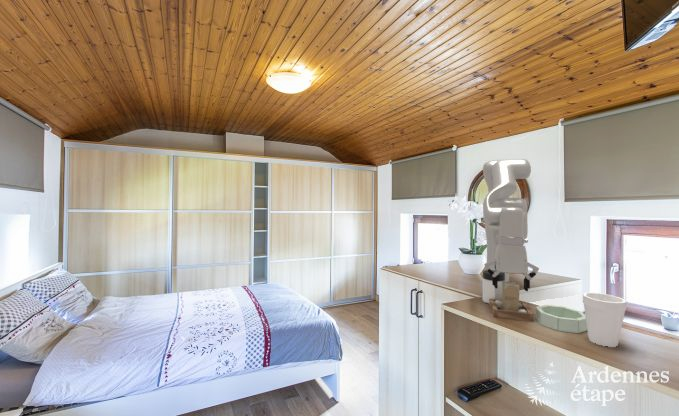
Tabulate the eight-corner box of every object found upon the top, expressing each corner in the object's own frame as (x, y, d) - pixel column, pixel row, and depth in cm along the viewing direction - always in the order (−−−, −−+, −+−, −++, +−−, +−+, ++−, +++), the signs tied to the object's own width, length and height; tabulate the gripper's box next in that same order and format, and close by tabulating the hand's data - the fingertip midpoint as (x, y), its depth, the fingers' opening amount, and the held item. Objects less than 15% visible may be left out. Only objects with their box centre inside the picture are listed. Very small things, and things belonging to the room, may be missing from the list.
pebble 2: (512, 308, 114) (512, 300, 114) (521, 309, 113) (521, 301, 113) (514, 311, 112) (514, 303, 111) (523, 312, 111) (523, 304, 110)
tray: (489, 305, 118) (489, 298, 118) (524, 308, 114) (524, 302, 114) (494, 317, 106) (494, 310, 106) (533, 321, 102) (533, 314, 102)
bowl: (532, 314, 108) (533, 303, 108) (576, 319, 104) (576, 307, 104) (543, 328, 96) (543, 316, 96) (593, 335, 92) (593, 322, 92)
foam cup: (629, 353, 81) (630, 305, 81) (585, 344, 86) (586, 299, 85) (619, 339, 89) (621, 295, 89) (580, 332, 94) (581, 290, 94)
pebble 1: (493, 306, 117) (493, 298, 116) (501, 307, 116) (502, 299, 115) (494, 308, 114) (494, 301, 114) (503, 310, 113) (503, 302, 113)
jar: (509, 302, 121) (509, 272, 121) (500, 306, 116) (500, 275, 116) (486, 296, 128) (487, 268, 128) (477, 300, 123) (477, 271, 123)
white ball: (516, 315, 107) (516, 307, 107) (526, 316, 106) (526, 308, 106) (518, 318, 104) (518, 310, 104) (528, 319, 103) (528, 311, 103)
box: (502, 313, 109) (503, 283, 109) (500, 309, 113) (501, 280, 113) (519, 315, 107) (519, 284, 107) (516, 311, 111) (517, 281, 111)
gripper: (535, 241, 110) (535, 288, 110) (483, 239, 116) (483, 284, 116) (542, 244, 103) (541, 294, 103) (485, 241, 109) (485, 289, 109)
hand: (510, 288), depth 109 cm, fingers open, 9 cm apart
